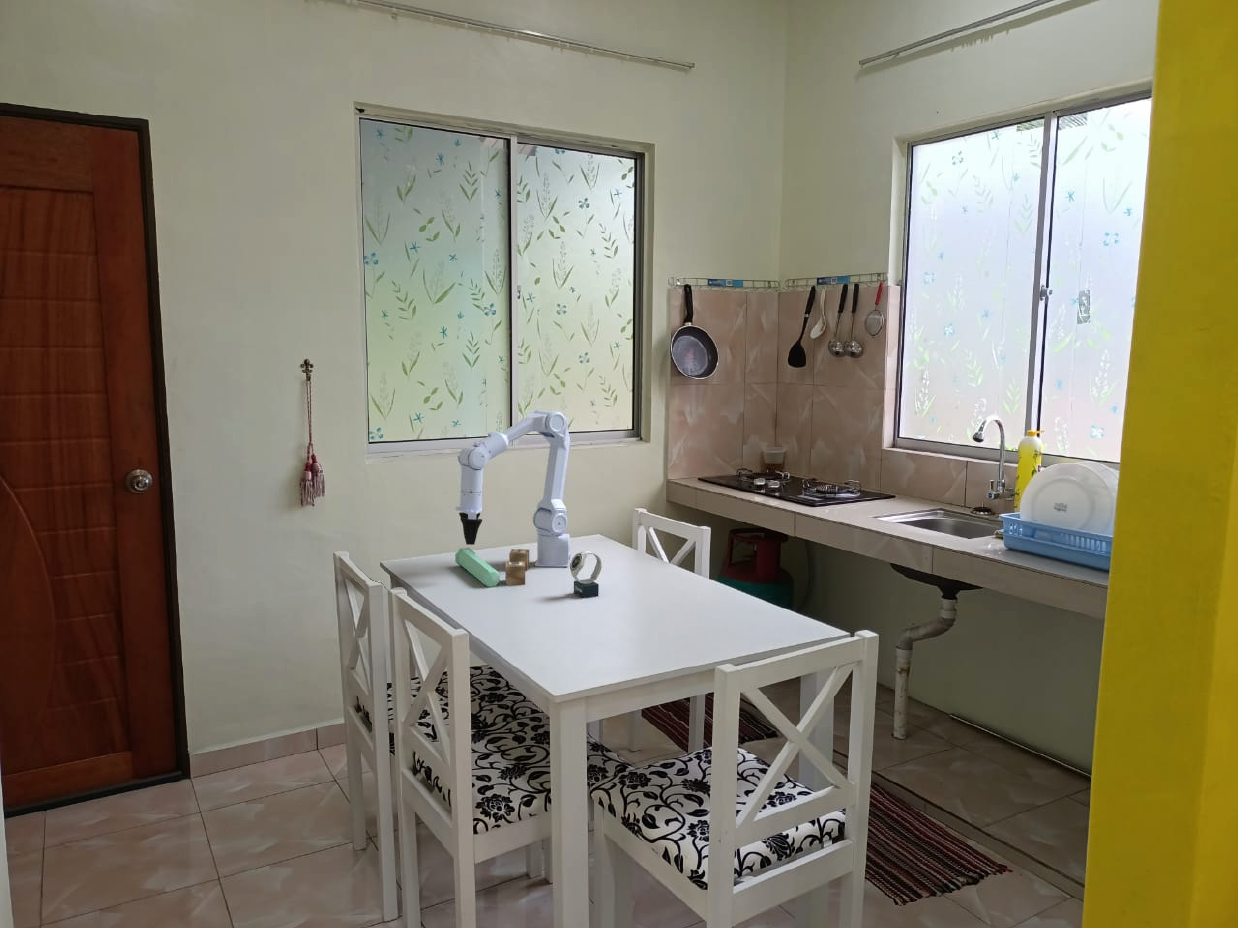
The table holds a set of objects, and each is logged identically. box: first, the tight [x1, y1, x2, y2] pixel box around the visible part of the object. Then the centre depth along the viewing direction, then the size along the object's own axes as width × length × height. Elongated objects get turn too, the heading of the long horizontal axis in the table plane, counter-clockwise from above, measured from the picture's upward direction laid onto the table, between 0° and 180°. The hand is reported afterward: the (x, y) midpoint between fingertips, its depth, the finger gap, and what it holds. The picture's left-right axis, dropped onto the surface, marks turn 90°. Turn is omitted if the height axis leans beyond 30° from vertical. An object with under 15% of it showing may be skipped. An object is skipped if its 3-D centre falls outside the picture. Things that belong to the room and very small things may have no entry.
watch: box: [569, 550, 603, 599], centre depth 229 cm, size 6×8×11 cm
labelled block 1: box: [508, 548, 530, 572], centre depth 254 cm, size 5×5×5 cm
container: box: [454, 547, 501, 588], centre depth 246 cm, size 6×6×25 cm
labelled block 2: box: [504, 561, 526, 586], centre depth 240 cm, size 5×5×5 cm
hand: (469, 541), depth 244 cm, fingers open, 7 cm apart
